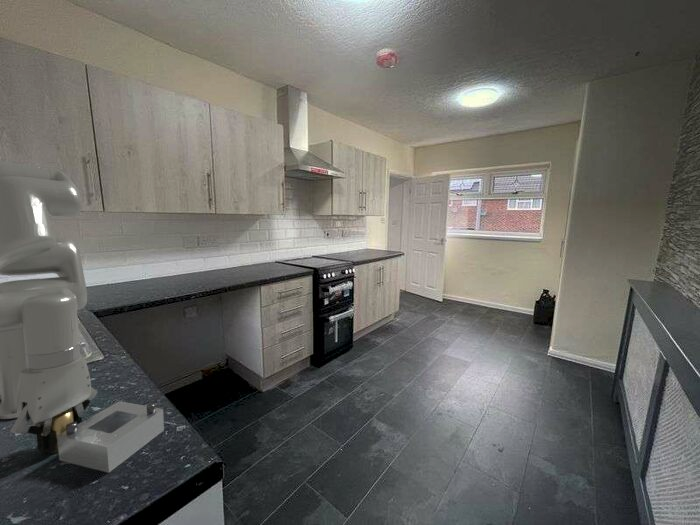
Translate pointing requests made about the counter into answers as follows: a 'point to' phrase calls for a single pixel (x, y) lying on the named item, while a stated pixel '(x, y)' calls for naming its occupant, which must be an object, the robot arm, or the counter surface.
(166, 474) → the counter surface
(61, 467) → the counter surface
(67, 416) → the brass cylinder
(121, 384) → the counter surface
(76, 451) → the jig
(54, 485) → the counter surface
